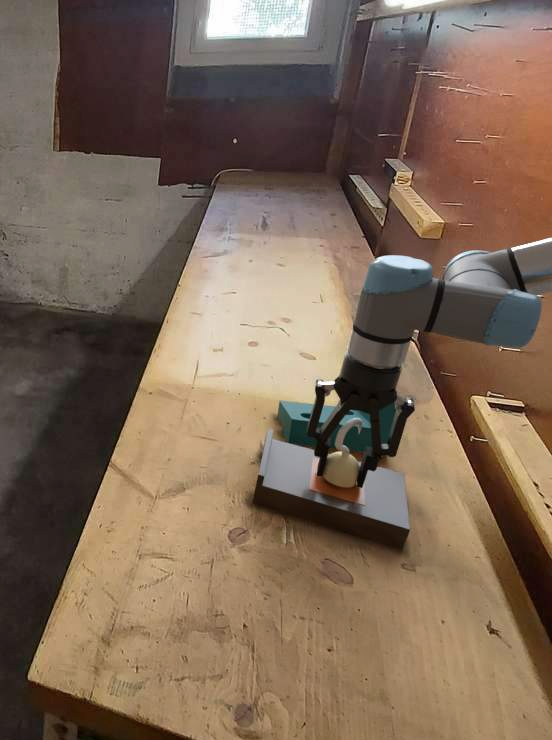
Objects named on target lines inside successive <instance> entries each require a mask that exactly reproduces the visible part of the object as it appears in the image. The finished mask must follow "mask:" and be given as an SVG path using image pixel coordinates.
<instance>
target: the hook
mask: <svg viewBox="0 0 552 740" xmlns="http://www.w3.org/2000/svg"><path fill="white" fill-rule="evenodd" d="M354 425H357V426H358V430H359V431H358V434H359V433H360V431H361V429H362V426H363V422H362V420H361V419H360V418H353V419H351V420H349V421H347V422H346V423H345V424H344V425H342V427H341V428H340V430H339V431H338V434H337V437H336V440H335V446H336V448H337V449H336V450H338V451H335V452H331V453H329V454H330V455H329V456H327V460H326V463H325V467H324V470H323V474H322V475H323V477H324V478H325V479H326V480H327V481H328V482H330V483H332V484H334V485H336V486H340V487H352V486H354V485H356V483H357V480H358V477H359V473H360V466H359V463H358V462H359V461H358V460H357V458H355V456H353V455H352V454H350V451H349V449H348V448H347V447H346V446H344V445H342V444H343V440H344V437H345V435H346V433H347V431H348V430H349V429H350V428H351V427H353V426H354Z"/></svg>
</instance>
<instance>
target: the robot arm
mask: <svg viewBox="0 0 552 740" xmlns="http://www.w3.org/2000/svg"><path fill="white" fill-rule="evenodd" d="M447 263H448V264H446V267H445V269H444V272H443V274H442V278H441V279H440V278H436V277H434V275H433V273H434V268H433V266H432V265H431V264H430V263H429V262H427V261H426V260H423V259H420V258H414V257H412V256H407V255H398V254H391V255H390V254H388V255H381V256H379V257H377V258H375V259H374V260H373V261H371V263H370V264H369V266H368V269H367V272H366V275H365V279H364V282H363V284H362V288H361V291H360V294H359V299H358V304H357V307H356V312H355V315H354V319H353V324H352V328H351V331H350V335H349V339H348V342H347V346H346V352H345V354H344V357H343V361H342V364H341V368H340V372H339V375H338V376H337V377H336V378H335V379H334V380H333V381H324V380H323V379H321V378H318V379H316V380H315V385H314V393H315V398H314V402H313V404H314V405H313V409H312V412H311V416H310V419H309V423H308V427H307V436H309V437H314V438H315V439H316V440H317V441H316V445H315V447H314V449H313V450H314V455H315V456H316V457H320V459H319V463H318V467H317V476H320V477H322V474H323V470H324V467H325V463H326V460H327V456H328V454H329V452H330V440H331V437H330V436H331V434H332V433H333V432H334V430H335V429H336V427H337V426H338V425H339V423H340V422H341V420H342V419H343V418H344V416H345V415H347V414H348V412H349V411H350V410H354V411H361V412H364V413H367V414H370V423H371V436H372V447H369V446H366V449H365V452H364V453H363V455H362V460H361V461H360V462H361V465H360V473H359V477H358V480H357V487H360V488H363V485H364V481H365V478H366V475H367V472H368V470H370V471H375V470H376V469H377V467H379V463H380V461H381V460H382V459H383V456H387V457H390V458H395V457H397V454H398V450H399V448H400V445H401V441H402V437H403V434H404V431H405V427H406V424H407V420H408V418H410V416H411V415H412V414H413V413H414V412H415V411H416V407H415V401H414V399H413V398H412V397H403V396H401V395H399V394H398V392H397V387H398V383H399V380H400V377H401V373H402V371H403V364H405V361H406V358H407V356H408V355H407V354H408V351H409V349H410V345H411V341H412V339H413V335H414V333H415V331H419V332H423V333H427V334H435V335H439V336H444V337H449V338H454V339H458V340H462V341H463V340H464V341H467V342H474V343H479V344H482V345H485V346H487V347H491V346H492V347H499V348H500V347H501V348H508V349H515V350H516V349H517V350H518V349H522V348H524V347H526V346H527V345H528V344H529V343H530V342H531V340H532V339H533V337H534V335H535V333H536V331H537V328H538V326H539V322H540V319H541V315H542V307H543V306H542V305H543V304H542V299H541V297H539V296H540V295H546V294H551V293H552V237H548V238H545V239H542V240H538V241H533V242H530V243H527V244H522V245H518V246H514V247H510V248H504V249H501V250H497V251H493V252H491V251H487V250H481V249H479V250H477V249H476V250H475V249H474V250H473V249H471V250H468V251H465V252H464V251H463V252H461V253H459V254H457V255H456V256H454V257H453V258H452V259H451V260H450V261H448V262H447ZM332 391H335V393H336V395H337V397H338V398H339V400H338V402H337V404H336V407H335V409H334V410H333V411H332V413H331V414H330V416H329V417H328V419H327V420H326V421H325V423H324V424H323V426H322V427H321V429H320V428H317V426H318V423H319V419H320V416H321V413H322V409H323V406H324V405H325V401H326V397H328V396H331V392H332ZM393 402H394V403H395V409H396V413H395V416H394V420H393V423H392V427H391V430H390V434H389V437H388V441H387V444H381V435H380V420H379V411H380V410H381V409H383V408H385V407H387V406H388V405H390V404H392V403H393Z"/></svg>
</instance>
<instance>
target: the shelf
mask: <svg viewBox="0 0 552 740" xmlns="http://www.w3.org/2000/svg"><path fill="white" fill-rule="evenodd" d="M273 436H274V429H271V428H267V432H266V436H265V440H264V446H263V450H262V455H261V459H260V465H259V469H258V473H257V478H256V482H255V487H254V492H253V495H252V501H251V504H252V505H255V506H259V507H261V508H265V509H267V510H271V511H274V512H277V513H280V514H283V515H287V516H289V517H293V518H297V519H300V520H302V521H306V522H309V523H312V524H315V525H319V526H322V527H325V528H329V529H331V530H335V531H338V532H341V533H345V534H346V535H347V534H348V535H351V536H354V537H357V538H361V539H363V540H366V541H369V542H373V543H376V544H379V545H383V546H385V547H388V548H392V549H396V550H399V551H403V549H404V547H405V545H406V542H407V540H408V537H409V534H410V532H411V524H410V514H409V508H408V507H409V506H408V504H409V503H408V498H407V497H408V496H407V489H406V479H405V472H400V471H396V470H392V469H389V468H384V467H381V466H377V469H376V470H375V471H370V470H368V472H367V475H366V478H365V481H364V485H363V488H360V487H357V483H356V485H354V486H352V487H340V486H336V485H334V484H332V483H330V482H328V481H327V480H326V479H325V478H324V477H323V475H322V477H320V476H317V467H318V463H319V459H320V457H316V456H315V455H314V449H312V448H308V447H305V446H302V445H297V444H289V443H288V442H287V441H286V442H285V441H281V440H279V439H274V438H273ZM330 454H331V453H328V456H329V455H330ZM361 462H362V461H358V463H359V466H360V465H361Z"/></svg>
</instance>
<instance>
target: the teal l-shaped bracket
mask: <svg viewBox="0 0 552 740" xmlns="http://www.w3.org/2000/svg"><path fill="white" fill-rule="evenodd" d="M313 405H314V403H307V402H306V403H305V402H297V401H287V400H279V402H278V408H277V416H276V417H277V418H278V420H279V422H280V424H281V425H282V431H281V434H282V435H283V437H284V439H285V440H286V443H289V444H293V445H297V446H304V447H305V446H306V447H314V448H315V445H316V441H317V440H316V439H315V438H314V437H309V436H307V427H308V423H309V419H310V416H311V412H312V409H313ZM336 406H337V405H336ZM336 406H335V405H326V404H324V406H323V409H322V413H321V416H320V419H319V423H318V426H317V428H320V429H321V427H322V426H323V424H324V423H325V421H326V420H327V419H328V417H329V416H330V414H331V413H332V411H333V410H334V409H335V407H336ZM395 413H396V409H395V403H394V402H393V403H392V404H390V405H388V406H387V407H385V408H383V409H381V410H380V411H379V420H380V435H381V444H387V441H388V437H389V434H390V430H391V427H392V423H393V420H394V416H395ZM353 418H360V419H361V420H362V422H363V426H362V429H361V431H360V433H359V434H358V431H359V430H358V426H357V425H354V426H353V427H351V428H350V429H349V430H348V431H347V433H346V435H345V437H344V440H343V444H342V445H344V446H346V447H347V448H348V449H349V452H355V453H362V454H364V452H365V449H366V446H369V447H372V436H371V423H370V414H367V413H364V412H361V411H354V410H350V411H349V412H348V414H347V415H345V416H344V418H343V419H342V420H341V422H340V423H339V425H338V426H337V427H336V429H335V430H334V432H333V433H332V434H331V436H330V437H331V440H330V449H331V450H338V449H337V448H336V446H335V440H336V437H337V434H338V431H339V430H340V428H341V427H342V425H344V424H345V423H346V422H347V421H349V420H351V419H353ZM330 449H329V450H330Z"/></svg>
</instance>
